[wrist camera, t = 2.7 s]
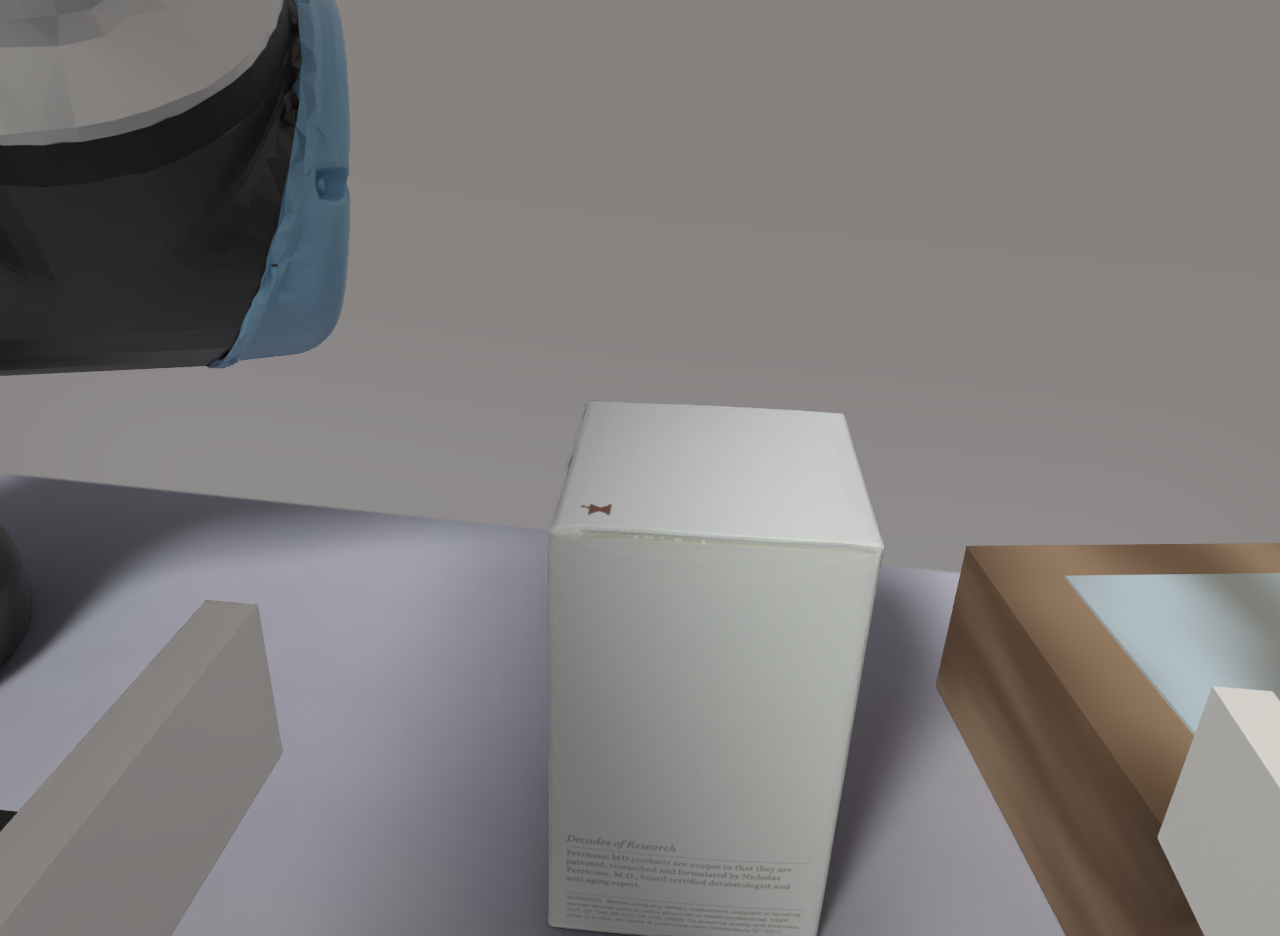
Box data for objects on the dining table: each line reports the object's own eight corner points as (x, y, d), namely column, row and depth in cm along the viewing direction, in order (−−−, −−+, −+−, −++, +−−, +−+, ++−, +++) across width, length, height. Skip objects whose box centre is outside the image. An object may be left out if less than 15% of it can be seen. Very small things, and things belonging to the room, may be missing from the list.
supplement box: (820, 958, 26) (893, 550, 20) (541, 932, 26) (535, 525, 20) (800, 757, 32) (852, 407, 27) (578, 739, 33) (581, 390, 27)
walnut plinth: (1114, 1028, 24) (1185, 854, 22) (935, 685, 36) (967, 543, 33) (1628, 1001, 25) (1759, 833, 23) (1296, 678, 37) (1355, 540, 34)
